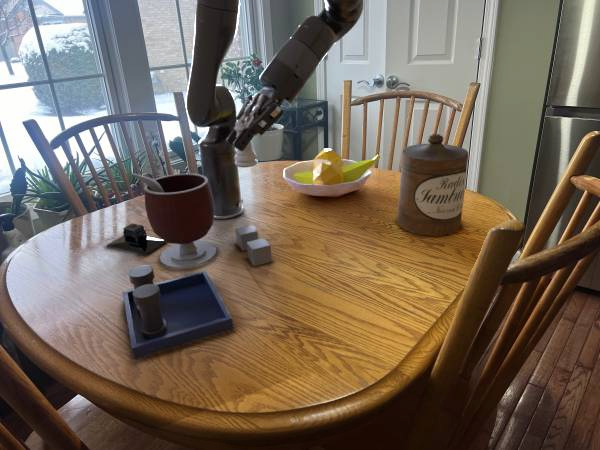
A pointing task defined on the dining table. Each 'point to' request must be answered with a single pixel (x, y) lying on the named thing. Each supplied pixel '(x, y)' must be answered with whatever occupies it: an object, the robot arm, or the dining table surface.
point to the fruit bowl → (328, 174)
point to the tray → (180, 314)
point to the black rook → (141, 277)
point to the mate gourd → (181, 216)
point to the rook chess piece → (247, 155)
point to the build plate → (136, 240)
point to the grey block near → (259, 252)
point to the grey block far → (245, 236)
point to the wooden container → (432, 187)
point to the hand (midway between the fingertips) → (234, 145)
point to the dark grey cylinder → (150, 311)
